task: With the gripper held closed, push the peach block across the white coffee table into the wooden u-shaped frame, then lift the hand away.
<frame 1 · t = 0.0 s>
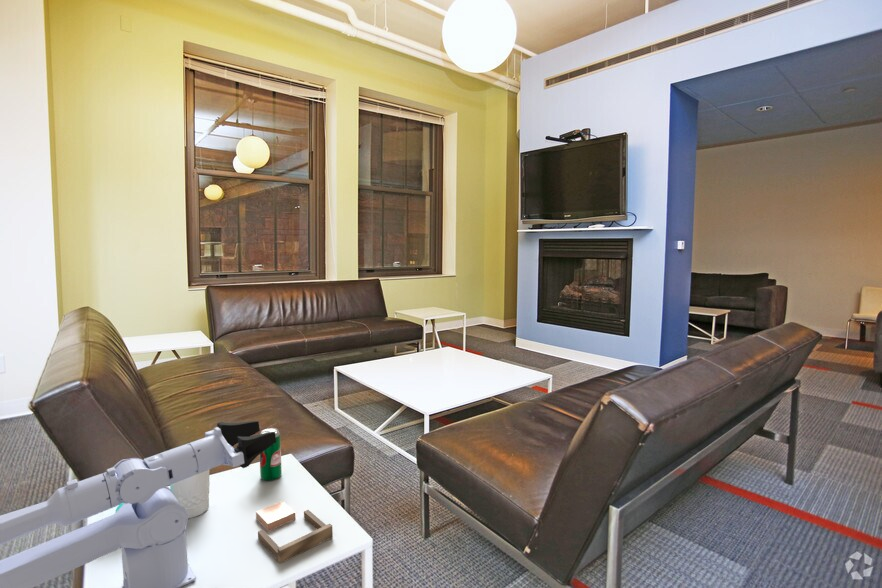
hand: (266, 431, 91), 22 cm above the table, tool horizontal, fingers open, 7 cm apart
white cup: (191, 511, 102), on the table
wooden u-shaped frame: (293, 535, 93), on the table
donuts: (143, 514, 101), on the table
peach block: (275, 520, 99), on the table
soda can: (271, 477, 116), on the table
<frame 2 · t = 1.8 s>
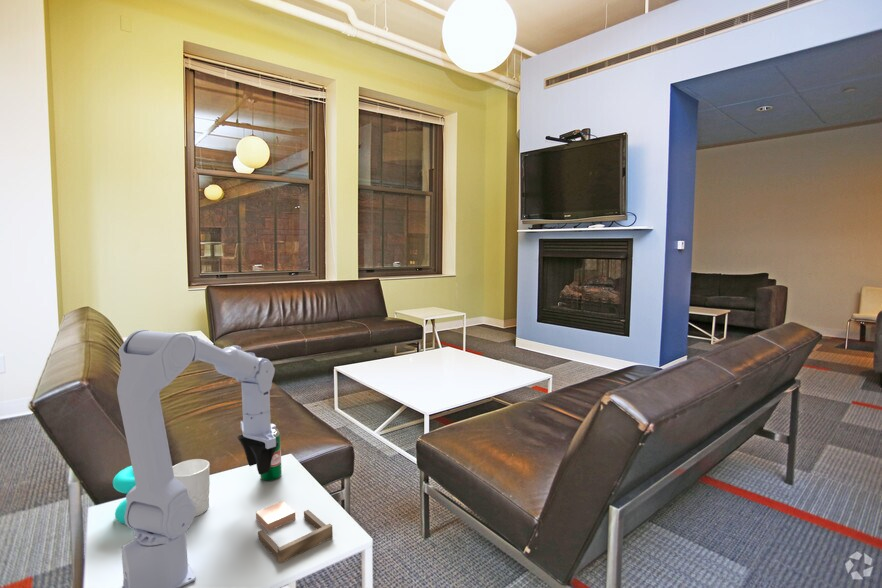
hand: (258, 468, 104), 8 cm above the table, tool pointing down, fingers open, 5 cm apart
nothing on the table moved.
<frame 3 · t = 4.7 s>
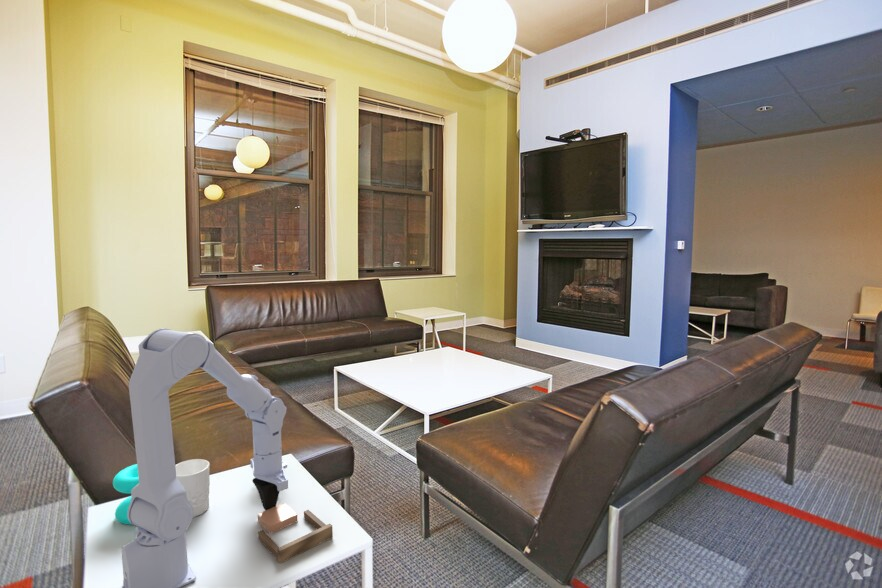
hand: (269, 508, 101), 1 cm above the table, tool pointing down, fingers closed
peach block: (277, 522, 98), on the table
everything else where it was.
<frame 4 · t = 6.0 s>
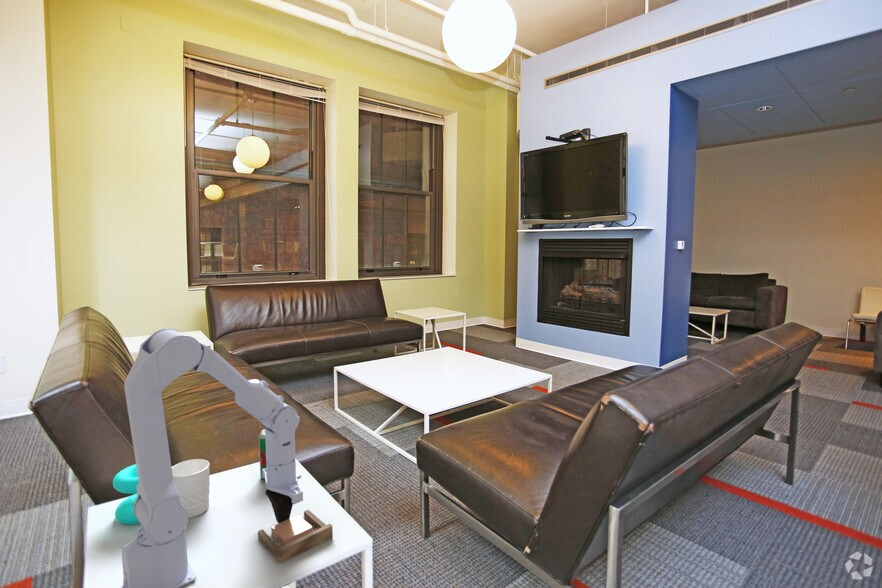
hand: (283, 521, 96), 1 cm above the table, tool pointing down, fingers closed
peach block: (292, 536, 94), on the table
everything else where it was.
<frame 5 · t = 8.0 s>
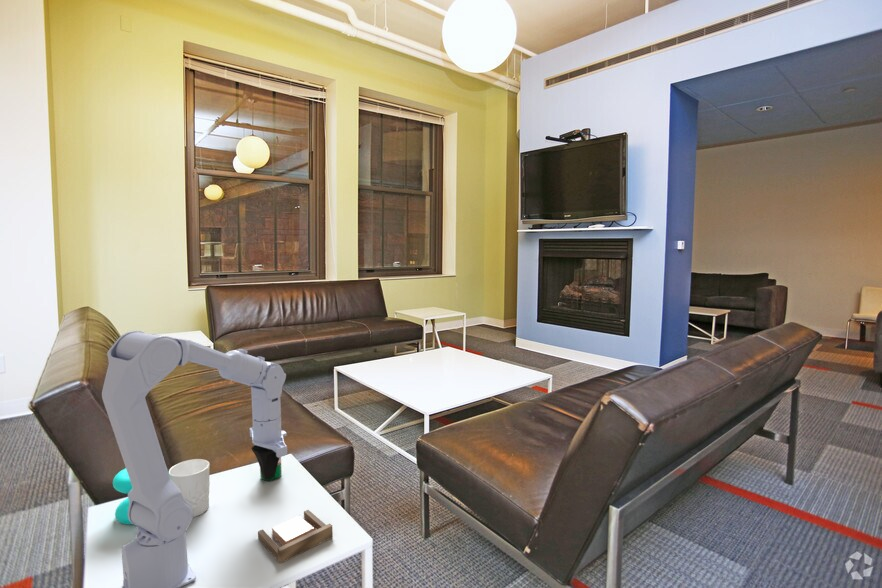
hand: (269, 477, 99), 9 cm above the table, tool pointing down, fingers closed
nothing on the table moved.
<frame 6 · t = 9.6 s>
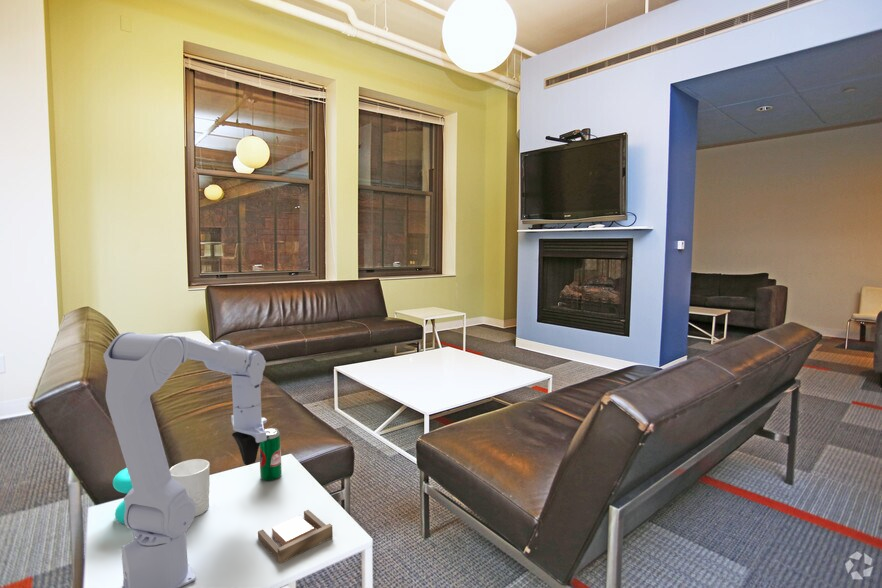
hand: (249, 462, 102), 10 cm above the table, tool pointing down, fingers closed
nothing on the table moved.
at the end: peach block 0.8 cm from the target spot, on the table; peach block tilted 0° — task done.
